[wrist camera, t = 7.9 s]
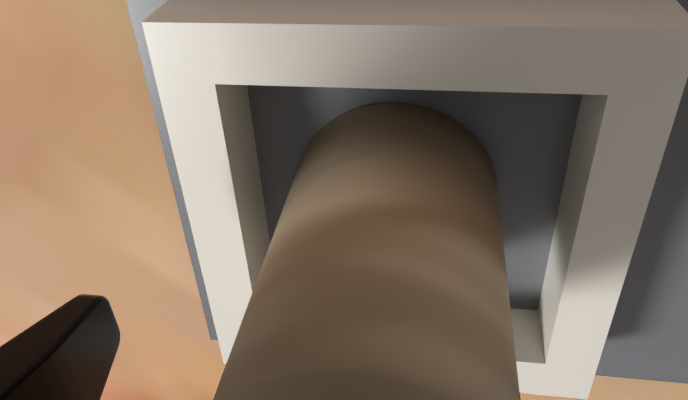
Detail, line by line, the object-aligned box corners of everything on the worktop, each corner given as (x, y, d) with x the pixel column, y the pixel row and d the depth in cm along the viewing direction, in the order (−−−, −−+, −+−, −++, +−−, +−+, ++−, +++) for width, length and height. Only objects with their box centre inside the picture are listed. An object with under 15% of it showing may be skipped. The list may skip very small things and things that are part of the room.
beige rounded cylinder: (507, 105, 11) (555, 387, 6) (487, 270, 13) (508, 569, 8) (287, 101, 11) (168, 355, 7) (306, 260, 14) (229, 533, 9)
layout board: (1217, -96, 8) (1655, -11, 5) (875, 373, 14) (989, 541, 11) (129, -80, 11) (-2, -15, 8) (220, 316, 16) (166, 442, 13)
